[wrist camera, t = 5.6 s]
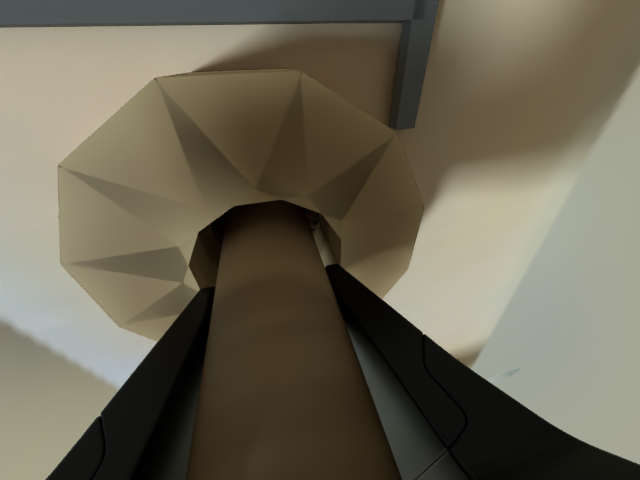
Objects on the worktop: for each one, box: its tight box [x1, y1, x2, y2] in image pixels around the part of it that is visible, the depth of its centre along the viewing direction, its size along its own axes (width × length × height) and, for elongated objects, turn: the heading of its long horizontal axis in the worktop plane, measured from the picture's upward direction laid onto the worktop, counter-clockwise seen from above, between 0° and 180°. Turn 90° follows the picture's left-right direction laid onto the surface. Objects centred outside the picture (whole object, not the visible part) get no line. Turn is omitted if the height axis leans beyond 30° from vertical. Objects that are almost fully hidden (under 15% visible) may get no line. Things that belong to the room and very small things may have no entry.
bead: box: [58, 68, 424, 342], centre depth 10 cm, size 11×11×4 cm
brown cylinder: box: [186, 200, 402, 480], centre depth 6 cm, size 3×3×10 cm
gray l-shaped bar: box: [0, 0, 439, 129], centre depth 7 cm, size 4×14×1 cm, turn 92°
